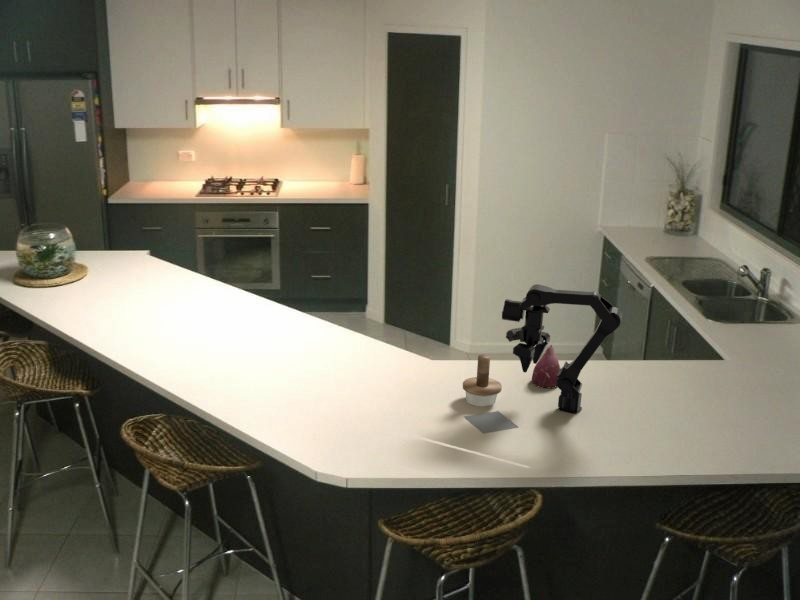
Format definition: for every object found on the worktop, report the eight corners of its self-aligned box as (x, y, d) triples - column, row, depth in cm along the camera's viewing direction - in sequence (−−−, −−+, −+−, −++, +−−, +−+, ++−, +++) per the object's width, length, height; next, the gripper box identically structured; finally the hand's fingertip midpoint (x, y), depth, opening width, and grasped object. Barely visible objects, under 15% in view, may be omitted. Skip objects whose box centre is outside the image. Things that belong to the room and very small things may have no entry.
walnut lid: (509, 391, 334) (511, 360, 330) (476, 398, 327) (478, 366, 324) (487, 377, 344) (489, 347, 341) (455, 384, 338) (457, 353, 335)
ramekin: (497, 396, 342) (498, 382, 341) (497, 410, 332) (498, 395, 330) (464, 394, 343) (465, 380, 342) (463, 407, 333) (464, 393, 331)
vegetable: (538, 384, 363) (540, 342, 362) (565, 387, 357) (567, 344, 357) (526, 386, 354) (528, 343, 353) (553, 389, 348) (556, 346, 348)
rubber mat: (498, 412, 330) (498, 410, 330) (518, 428, 319) (518, 427, 319) (463, 418, 325) (463, 416, 324) (482, 435, 313) (483, 433, 313)
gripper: (521, 311, 340) (517, 354, 345) (499, 326, 324) (496, 371, 329) (552, 317, 335) (548, 361, 340) (532, 333, 319) (528, 378, 324)
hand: (529, 367), depth 333 cm, fingers open, 9 cm apart
